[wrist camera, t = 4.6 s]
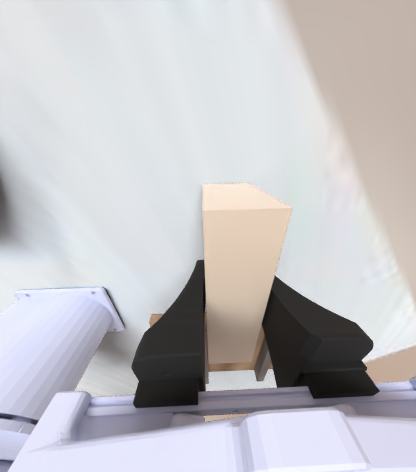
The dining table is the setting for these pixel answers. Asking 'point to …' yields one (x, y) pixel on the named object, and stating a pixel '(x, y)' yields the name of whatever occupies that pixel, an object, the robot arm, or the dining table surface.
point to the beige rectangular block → (239, 265)
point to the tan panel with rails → (258, 364)
